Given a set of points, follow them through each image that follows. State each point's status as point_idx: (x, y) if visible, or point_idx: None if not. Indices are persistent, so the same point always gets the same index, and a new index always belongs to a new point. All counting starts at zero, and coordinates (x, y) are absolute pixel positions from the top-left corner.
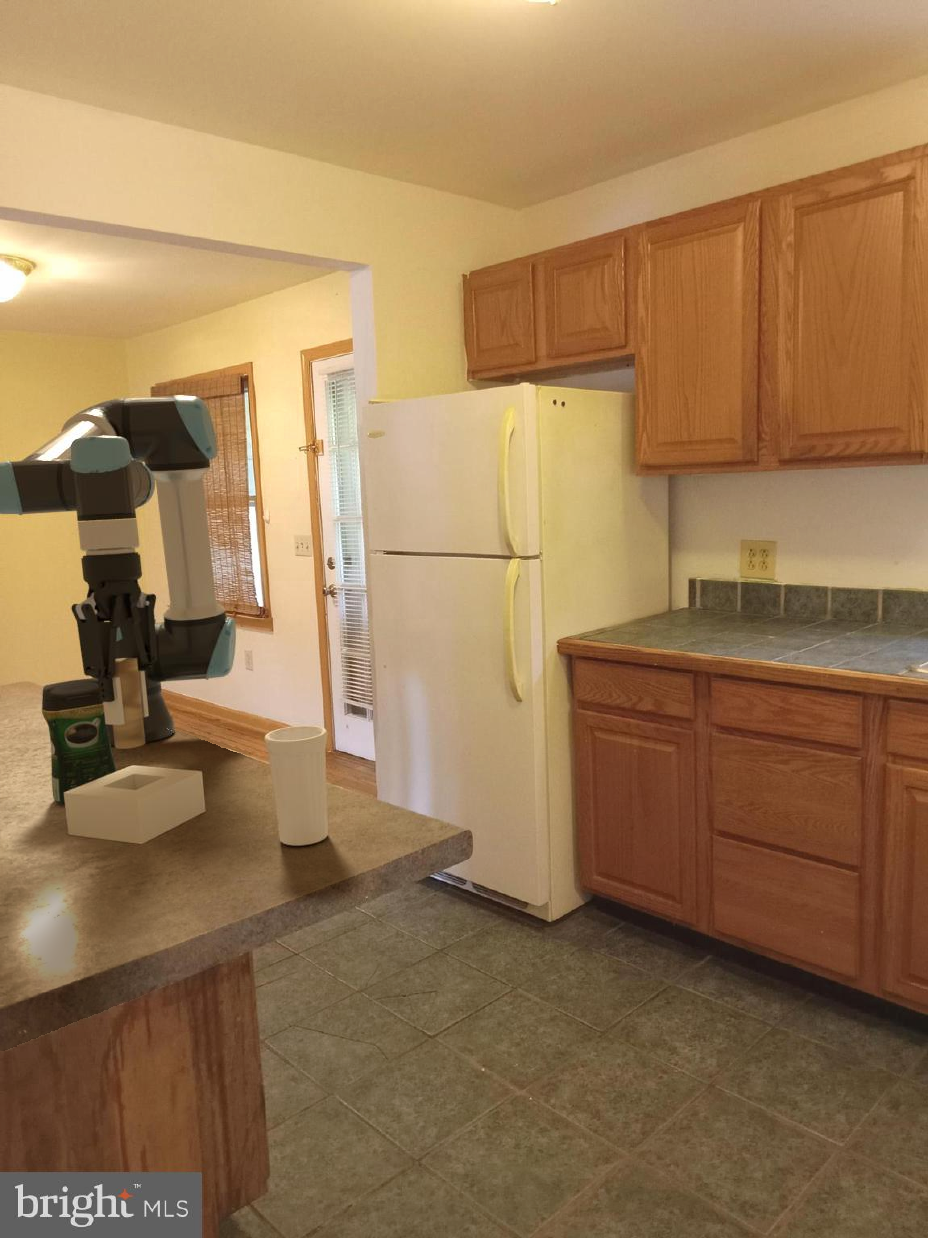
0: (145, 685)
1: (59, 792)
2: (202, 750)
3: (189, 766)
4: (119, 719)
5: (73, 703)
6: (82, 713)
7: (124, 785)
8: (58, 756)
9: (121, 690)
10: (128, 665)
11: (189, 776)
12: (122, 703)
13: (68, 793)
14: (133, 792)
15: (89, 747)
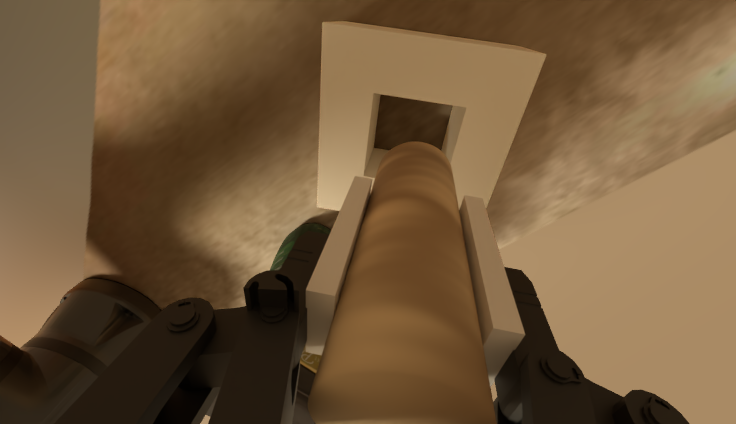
0: (328, 239)
1: None
2: (110, 209)
3: (171, 189)
4: (484, 210)
5: (307, 381)
6: (303, 350)
7: None
8: None
9: (469, 276)
10: (455, 359)
11: (364, 30)
12: (475, 236)
13: None
14: (483, 102)
15: None
